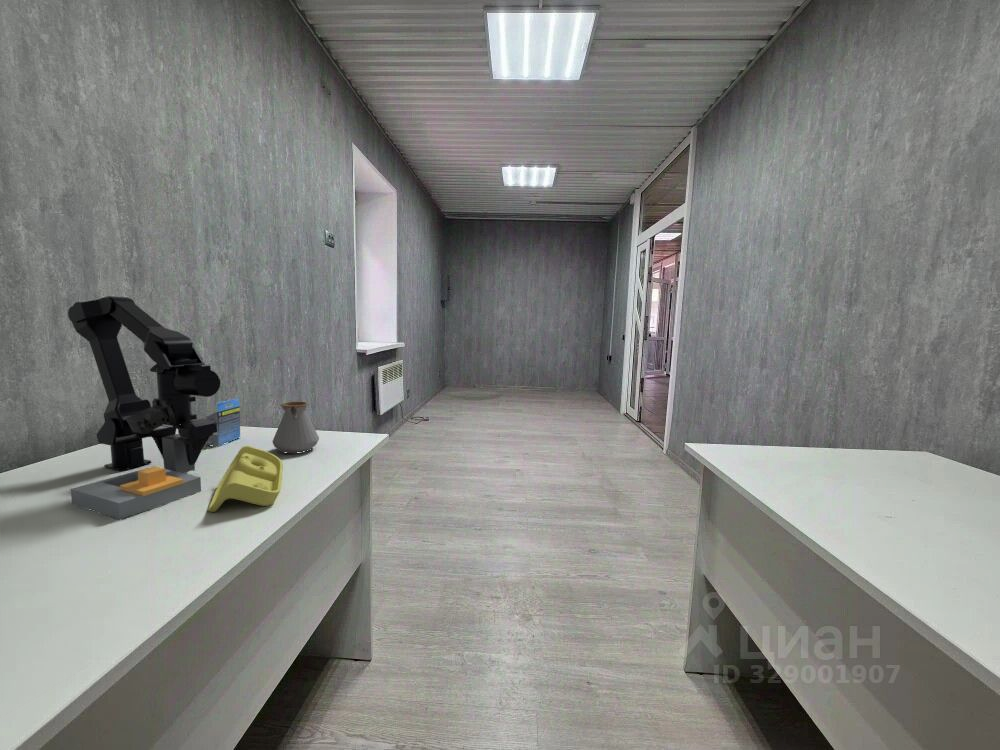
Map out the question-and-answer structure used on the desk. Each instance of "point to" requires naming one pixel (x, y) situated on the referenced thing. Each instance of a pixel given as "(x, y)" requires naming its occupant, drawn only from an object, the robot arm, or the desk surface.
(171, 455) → the grey box
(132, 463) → the robot arm
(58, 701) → the desk surface
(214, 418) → the label tape box
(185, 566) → the desk surface
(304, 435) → the coffee pot
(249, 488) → the plastic component
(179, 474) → the socket board
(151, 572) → the desk surface
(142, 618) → the desk surface
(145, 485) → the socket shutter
